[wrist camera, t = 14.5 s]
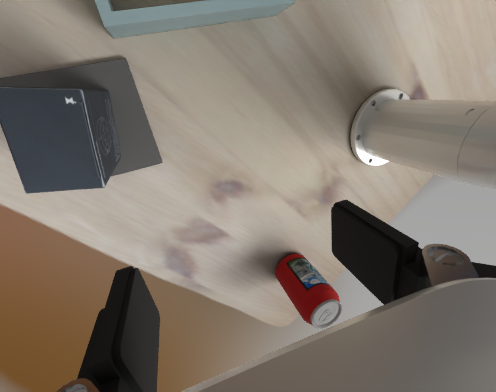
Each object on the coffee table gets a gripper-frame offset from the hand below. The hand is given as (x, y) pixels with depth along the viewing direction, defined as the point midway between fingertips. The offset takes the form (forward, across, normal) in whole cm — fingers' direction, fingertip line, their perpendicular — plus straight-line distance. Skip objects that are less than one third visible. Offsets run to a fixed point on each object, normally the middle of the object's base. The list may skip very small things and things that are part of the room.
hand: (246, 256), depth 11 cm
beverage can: (+25, -12, +26) cm, 38 cm away
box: (+23, +11, -6) cm, 26 cm away
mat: (+24, +11, -6) cm, 27 cm away
